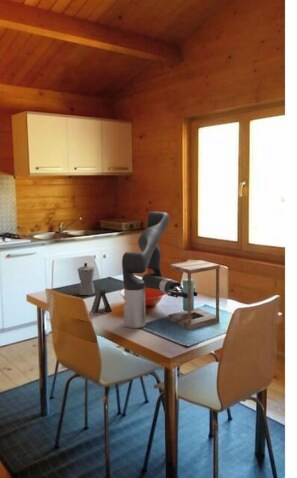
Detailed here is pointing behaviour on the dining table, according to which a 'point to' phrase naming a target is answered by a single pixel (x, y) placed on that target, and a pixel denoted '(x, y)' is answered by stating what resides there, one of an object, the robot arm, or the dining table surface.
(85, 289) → the coffeepot
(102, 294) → the phone stand
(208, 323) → the tan frame
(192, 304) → the peg
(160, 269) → the robot arm
